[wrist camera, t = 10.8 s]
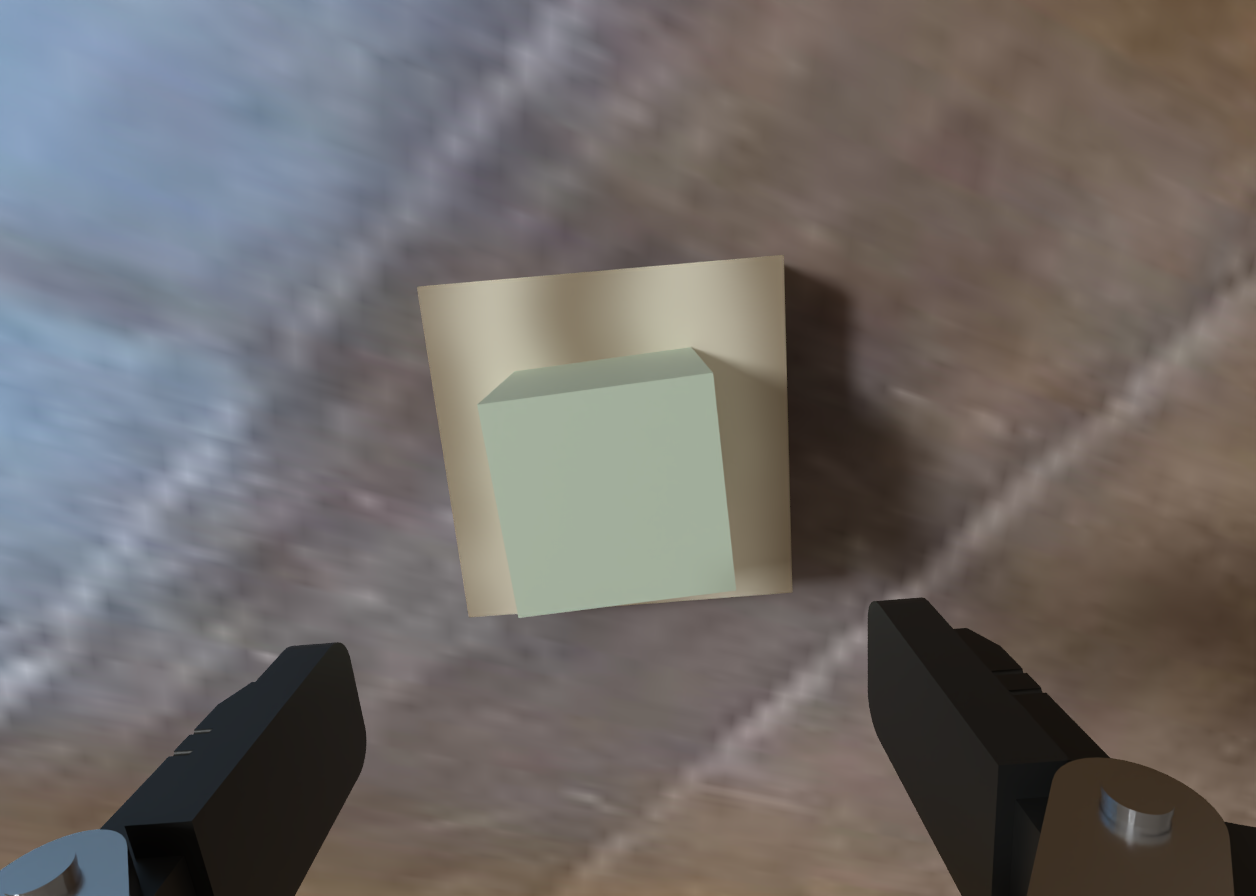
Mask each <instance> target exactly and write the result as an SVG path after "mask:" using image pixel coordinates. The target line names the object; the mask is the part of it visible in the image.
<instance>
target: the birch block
mask: <svg viewBox="0 0 1256 896" xmlns="http://www.w3.org/2000/svg"><path fill="white" fill-rule="evenodd" d="M417 290H418V296H419V303H420V309H421V315H422V322H423V328H424V335H425V341H426V347H427V354H428V360H429V366H430V373H431V379H432V385H433V392H434V398H435V404H436V411H437V417H438V423H439V430H440V436H441V443H442V449H443V455H444V462H445V468H446V474H447V481H448V487H449V493H450V500H451V506H452V512H453V519H454V525H455V532H456V538H457V544H458V551H459V557H460V563H461V570H462V576H463V582H464V589H465V595H466V601H467V608H468V614H469V617H480V616H493V615H506V614H518V612H517V607H516V602H515V597H514V592H513V587H512V582H511V576H510V571H509V566H508V561H507V556H506V551H505V546H504V541H503V535H502V530H501V525H500V520H499V515H498V510H497V505H496V500H495V494H494V489H493V484H492V479H491V474H490V469H489V464H488V459H487V453H486V448H485V443H484V438H483V433H482V428H481V423H480V417H479V412H478V407H477V404H478V403H480V402H481V401H482V400H483V399H484V398H485V397H486V396H487V395H489V394H490V393H491V392H492V391H493V390H494V389H495V388H496V387H498V386H499V385H500V384H501V383H502V382H503V381H504V380H505V379H507V378H508V377H509V376H510V375H511V374H512V373H513V372H514V371H521V370H528V369H535V368H543V367H550V366H557V365H564V364H572V363H579V362H586V361H593V360H601V359H608V358H615V357H623V356H630V355H637V354H644V353H652V352H659V351H666V350H674V349H681V348H688V347H691V348H692V349H693V350H694V351H695V352H696V353H697V355H698V356H699V357H700V358H701V359H702V360H703V362H704V363H705V364H706V365H707V366H708V367H709V369H710V370H711V371H712V372H713V377H714V386H715V396H716V405H717V415H718V424H719V434H720V443H721V452H722V462H723V471H724V481H725V490H726V499H727V509H728V518H729V528H730V537H731V547H732V556H733V565H734V575H735V584H736V591H728V592H720V593H712V594H704V595H696V596H688V597H680V598H672V599H665V600H657V601H649V602H641V603H633V604H625V605H636V604H649V603H661V602H674V601H687V600H700V599H713V598H726V597H739V596H752V595H765V594H778V593H791V592H792V560H791V521H790V482H789V443H788V405H787V366H786V327H785V288H784V255H778V256H766V257H755V258H743V259H732V260H720V261H709V262H697V263H686V264H674V265H663V266H651V267H640V268H628V269H617V270H605V271H594V272H582V273H570V274H559V275H547V276H536V277H524V278H513V279H501V280H490V281H478V282H467V283H455V284H444V285H432V286H421V287H417ZM617 606H623V605H617ZM609 607H610V606H609Z"/></svg>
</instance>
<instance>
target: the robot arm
mask: <svg viewBox="0 0 1256 896" xmlns="http://www.w3.org/2000/svg"><path fill="white" fill-rule="evenodd" d="M868 700H869V708H870V713H871V718H872V722H873V725H874V728H875V731H876V734H877V736H878V738H879V740H880V742H881V744H882V746H883V748H884V750H885V752H886V753H887V755H888V757H889V759H890V761H891V763H892V765H893V767H894V769H895V771H896V772H897V774H898V776H899V778H900V780H901V782H902V784H903V786H904V788H905V789H906V791H907V793H908V795H909V797H910V799H911V801H912V803H913V805H914V806H915V808H916V810H917V812H918V814H919V816H920V818H921V820H922V822H923V823H924V825H925V827H926V829H927V831H928V833H929V835H930V837H931V839H932V840H933V842H934V844H935V846H936V848H937V850H938V852H939V854H940V856H941V857H942V859H943V861H944V863H945V865H946V867H947V869H948V871H949V873H950V875H951V876H952V878H953V880H954V882H955V884H956V886H957V888H958V890H959V892H960V893H961V895H962V896H1256V827H1250V826H1244V825H1238V824H1233V823H1228V822H1224V821H1223V819H1222V817H1221V816H1220V815H1219V813H1218V812H1217V811H1216V810H1215V808H1214V807H1213V806H1212V805H1211V804H1209V803H1208V802H1207V801H1206V800H1205V799H1204V798H1203V797H1202V796H1200V795H1199V794H1198V793H1196V792H1195V791H1194V790H1192V789H1191V788H1189V787H1188V786H1186V785H1185V784H1183V783H1181V782H1180V781H1178V780H1176V779H1174V778H1172V777H1170V776H1168V775H1166V774H1164V773H1161V772H1159V771H1157V770H1154V769H1152V768H1149V767H1146V766H1143V765H1140V764H1136V763H1132V762H1128V761H1124V760H1118V759H1112V758H1110V757H1109V756H1108V755H1107V754H1106V753H1105V752H1104V751H1103V750H1102V749H1101V748H1100V747H1099V746H1098V745H1097V744H1096V743H1095V742H1094V741H1093V740H1092V739H1091V738H1090V737H1089V736H1088V735H1087V734H1086V733H1085V732H1084V731H1083V730H1082V729H1081V728H1080V727H1079V726H1078V725H1077V724H1076V723H1075V722H1074V721H1073V720H1072V719H1071V718H1070V717H1069V716H1068V715H1067V714H1066V713H1065V711H1064V710H1063V709H1062V708H1061V707H1060V706H1059V705H1058V704H1057V703H1056V702H1055V701H1054V700H1053V699H1052V698H1051V697H1050V696H1049V695H1048V694H1047V693H1042V690H1041V687H1040V686H1039V685H1038V684H1037V683H1036V682H1035V681H1034V680H1033V679H1032V678H1031V677H1030V676H1029V675H1028V674H1027V673H1023V671H1022V668H1021V667H1020V666H1019V665H1018V664H1017V663H1016V662H1015V661H1014V660H1013V659H1012V658H1011V657H1010V655H1009V654H1008V653H1007V652H1006V651H1005V650H1004V649H1003V648H1002V647H1001V646H999V645H997V644H996V643H994V642H992V641H990V640H988V639H986V638H985V637H983V636H981V635H979V634H977V633H975V632H973V631H972V630H970V629H968V628H961V629H953V628H952V627H951V626H950V625H949V624H948V623H947V622H946V620H945V619H944V618H943V617H942V616H941V615H940V614H939V613H938V612H937V610H936V609H935V608H934V607H933V606H932V605H931V604H930V603H929V601H927V600H926V599H925V598H910V599H897V600H885V601H873V602H872V603H871V604H870V606H869V610H868ZM365 753H366V730H365V725H364V720H363V715H362V711H361V706H360V702H359V697H358V692H357V688H356V683H355V678H354V674H353V669H352V664H351V660H350V656H349V653H348V650H347V649H346V647H345V646H344V645H343V644H342V643H338V642H337V643H325V644H312V645H299V646H290V647H288V648H286V649H285V650H284V651H283V652H282V653H281V654H280V655H279V657H278V658H277V659H276V660H275V661H274V662H273V663H272V664H271V665H270V666H269V668H268V669H267V670H266V671H265V672H264V673H263V674H262V675H261V676H260V677H259V679H258V680H257V681H256V682H252V683H250V684H248V685H247V686H245V687H244V688H242V689H241V690H239V691H238V692H236V693H235V694H233V695H232V696H230V697H229V698H227V699H226V700H224V701H223V702H221V703H220V704H218V705H217V706H216V707H215V708H214V709H213V711H212V712H211V713H210V714H209V715H208V716H207V717H206V718H205V719H204V720H203V721H202V722H201V723H200V724H199V725H198V726H197V727H196V728H195V729H194V735H189V736H188V737H187V738H186V739H185V740H184V741H183V742H182V743H181V744H180V745H179V746H178V747H177V748H176V750H175V751H174V756H171V757H168V758H167V759H166V760H165V761H164V762H163V763H162V764H161V765H160V766H159V767H158V768H157V770H156V771H155V772H154V773H153V774H152V775H151V776H150V777H149V778H148V779H147V780H146V781H145V782H144V783H143V784H142V785H141V786H140V787H139V789H138V790H137V791H136V792H135V793H134V794H133V795H132V796H131V797H130V798H129V799H128V800H127V801H126V802H125V803H124V804H123V805H122V806H121V807H120V809H119V810H118V811H117V812H116V813H115V814H114V815H113V816H112V817H111V818H110V819H109V820H108V821H107V822H106V823H105V824H104V825H103V826H102V828H101V829H98V830H88V831H84V832H79V833H75V834H72V835H68V836H65V837H62V838H60V839H57V840H54V841H52V842H49V843H47V844H45V845H43V846H41V847H39V848H36V849H34V850H33V851H31V852H29V853H27V854H25V855H23V856H22V857H20V858H18V859H17V860H15V861H14V862H12V863H10V864H9V865H7V866H6V867H4V868H3V869H2V870H0V896H295V894H296V892H297V890H298V889H299V887H300V885H301V883H302V881H303V879H304V877H305V876H306V874H307V872H308V870H309V868H310V866H311V864H312V863H313V861H314V859H315V857H316V855H317V853H318V851H319V849H320V848H321V846H322V844H323V842H324V840H325V838H326V836H327V835H328V833H329V831H330V829H331V827H332V825H333V823H334V822H335V820H336V818H337V816H338V814H339V812H340V810H341V809H342V807H343V805H344V803H345V801H346V799H347V797H348V795H349V794H350V792H351V790H352V788H353V786H354V784H355V782H356V781H357V779H358V777H359V775H360V773H361V770H362V767H363V763H364V759H365Z"/></svg>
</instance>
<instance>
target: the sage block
mask: <svg viewBox="0 0 1256 896" xmlns="http://www.w3.org/2000/svg"><path fill="white" fill-rule="evenodd" d="M477 407H478V412H479V417H480V423H481V428H482V433H483V438H484V443H485V448H486V453H487V459H488V464H489V469H490V474H491V479H492V484H493V489H494V494H495V500H496V505H497V510H498V515H499V520H500V525H501V530H502V535H503V541H504V546H505V551H506V556H507V561H508V566H509V571H510V576H511V582H512V587H513V592H514V597H515V602H516V607H517V612H518V617H519V618H521V617H529V616H537V615H545V614H553V613H561V612H569V611H577V610H585V609H593V608H601V607H609V606H617V605H625V604H633V603H641V602H649V601H657V600H665V599H672V598H680V597H688V596H696V595H704V594H712V593H720V592H728V591H736V584H735V575H734V565H733V556H732V547H731V537H730V528H729V518H728V509H727V499H726V490H725V481H724V471H723V462H722V452H721V443H720V434H719V424H718V415H717V405H716V396H715V386H714V377H713V372H712V371H711V370H710V369H709V367H708V366H707V365H706V364H705V363H704V362H703V360H702V359H701V358H700V357H699V356H698V355H697V353H696V352H695V351H694V350H693V349H692V348H691V347H688V348H681V349H674V350H666V351H659V352H652V353H644V354H637V355H630V356H623V357H615V358H608V359H601V360H593V361H586V362H579V363H572V364H564V365H557V366H550V367H543V368H535V369H528V370H521V371H514V372H513V373H512V374H511V375H510V376H509V377H508V378H507V379H505V380H504V381H503V382H502V383H501V384H500V385H499V386H498V387H496V388H495V389H494V390H493V391H492V392H491V393H490V394H489V395H487V396H486V397H485V398H484V399H483V400H482V401H481V402H480V403H478V404H477Z"/></svg>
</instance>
